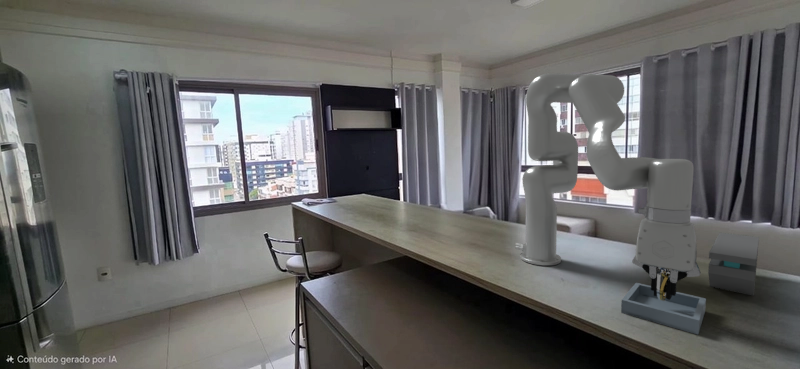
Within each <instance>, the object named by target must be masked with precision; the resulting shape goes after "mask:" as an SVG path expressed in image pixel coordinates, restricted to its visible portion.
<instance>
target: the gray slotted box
mask: <svg viewBox="0 0 800 369" xmlns="http://www.w3.org/2000/svg"><path fill="white" fill-rule="evenodd" d="M759 242H760V237H759V236H754V235H753V236H751V235H744V234H743V235H742V234H735V233H729V232H728V233H727V232H719V233H718V235H717V237H716V239H715V240H714V243H712V246H711V248H710V250H709V252H708V259H710V260H709V263H708V269H707V270H708V272H707V274H708V284H709V287H710V288H714V287H715V288H716V289H719V288H720V290H724V289H725V290H724V291H729V290H730V291H729V292H733V291H734V292H735V293H738V292H739V294H744V295H747V296H753V297H754V296H755V287H756V286H755V285H756V276H757V266H758V254H759V253H758V252H759ZM715 288H714V289H715Z"/></svg>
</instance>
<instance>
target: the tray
mask: <svg viewBox="0 0 800 369" xmlns="http://www.w3.org/2000/svg"><path fill="white" fill-rule="evenodd" d="M706 304H707V298H704V297H701V296H697V295H692V294H688V293H684V292H679V291H676V295H675V296H673V295H672V297H671V299H670V300H669V299H667V298H666V301H662V300H659V299H658V297H656V296H654V291H652V290H651V285H648V284H643V283H640V282H635V283H634V284H633V286H632V287H631V288H630V289H629V290H628V291H627V293H626V294H625V295H624V296H623V297H622V299H621V307H620V309H621V310H620V313H622V314H625V315H628V316H632V317H636V318H639V319H641V320H642V319H643V320H646V321H650V322H653V323H656V324H660V325H664V326H666V327H669V328H674V329H676V330H681V331H683V332H688V333H690V334H693V335H694V334H695V335H698V336H699V334H700V331H701V327H702V323H703V320H704V316H705V313H706V306H707V305H706Z"/></svg>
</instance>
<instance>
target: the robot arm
mask: <svg viewBox="0 0 800 369" xmlns="http://www.w3.org/2000/svg"><path fill="white" fill-rule="evenodd" d="M624 96H625V86H624V83H623V82H622V80H621V79H620V78H619V77H617V76H615V75H612V74H611V75H610V74H596V73H595V74H591V73H589V74H577V73H576V74H574V73H572V74H571V73H559V72H554V73H553V72H552V73H551V72H550V73H549V72H548V73H543V74H541V75H538V76H536V77H534V79H533V80H532V81H531V82H530V84H529V85H528V88H527V91H526V95H525V104H526V110H527V111H526V112H527V119H528V125H527V152H528V156H529V158H530V159H531V160H532V161H535V162H552V164H544V165H543V164H542V165H534V166H532V167H528V169H526V170H525V171H524V172H523V176H522V188H523V191H524V198H525V199H524V201H525V243H521V242H515V245H514V246H515V247H514V248H515V250H518V251H521V254H520V259H521V260H522V261H523V262H525V263H528V264H532V265H536V266H556V265H559V264H560V263H562V257H561V256H560V255H559V254H557V236H558V235H557V228H558V225H557V224H558V217H557V216H558V210H557V209H558V208H557V204H556V202H555V200H554V198H553V196H552V195H554V194H562V193H569V192H570V191H572V190H573V189H574V188H575V187H576V186H577V185H576V184H577V183H578V182H577V181H578V170H579V169H578V168H579V144H578V141H577V139H576V137H575V135H573V134H572V133H571V132H568V131H558V118H557V117H558V116H557V113H556V111H555V109H554V107H553V106H552V103H562V104H573V106H574V108H575V109H576V112H577V113H578V115H579V117H580V119H581V120H582V122H583V124H584V126H585V128H586V129H587V130H586V131H588V137H587V140H586V158H587V161H588V163H589V166H590V167H591V169H592V171H593V174H594V175H595V176H596V178H597V180H598V182H600V183H601V185H603V186H604V187H605V188H607V189H608V190H612V191H617V192H619V191H628V190H641V189H643V190H644V189H647V192H646V205H645V206H644V207H638V210H637V212H638V214H640V215H641V214H642V215H643V216H644V218H642V219H641V220H640V223H639V226H638V233H637V239H636V246H635V255H634V257H633V259H632V262H631V263H632V264H633V265H635V266H637V267H640V268H642V269H643V271H645V272H646V273H647V274H648V275H649V277H650V278H651V280H650V286H651V290H652V291H654V296H656V297H657V271H656V269H657V267H660V268H665V269H670V270H671V274H670V277H669V279H668V281H667V285H666V298H667V299H669V300H670V299H671V297H672V295H673V296H675V295H676V292H677V284H678V283H677V282H679V281H681V280H684V279H685V278H693V277H695V278H696V277H700V276H701V269H700V268H699V265H698V263H697V250H698V249H697V246H698V245H697V235H696V234H697V233H696V228H695V224H694V223H693V222H691V215H692V214H691V213H692V197H693V186H694V185H693V184H694V168H695V167H694V164H693V162H692V161H691V160H689V159H685V158H653V157H645V156H643V157H642V156H640V157H638V156H637V157H621V156H620V154H619V152H618V151H617V149H616V147H615V145H614V143H613V139H612V134H613V132H616V130H618V129H619V128H620V127H621V126H622V125H623V124H624V123H625V120H626V117H625V114H624V113H623V111H622V109H621V108H620V106H619V105H618V103H619V102H621V101H622V99H623V97H624Z"/></svg>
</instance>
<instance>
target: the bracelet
mask: <svg viewBox="0 0 800 369" xmlns="http://www.w3.org/2000/svg"><path fill="white" fill-rule="evenodd" d="M656 271H657V297H658V299H659V300H662V301H666V285H667V281H668V279H669V277H670V274H671V270H670V269H665V268H660V267H657V269H656Z"/></svg>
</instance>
